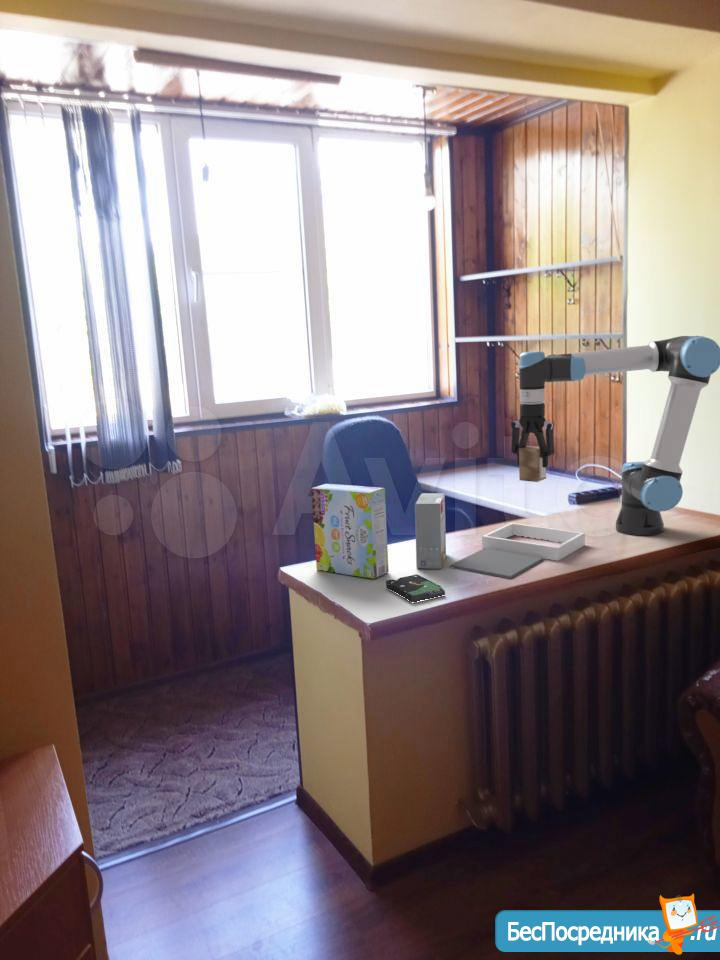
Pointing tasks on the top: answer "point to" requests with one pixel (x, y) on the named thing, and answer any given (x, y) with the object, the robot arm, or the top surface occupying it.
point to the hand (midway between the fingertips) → (532, 476)
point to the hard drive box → (430, 530)
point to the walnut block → (529, 464)
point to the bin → (567, 538)
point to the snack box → (350, 530)
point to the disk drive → (415, 588)
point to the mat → (497, 563)
